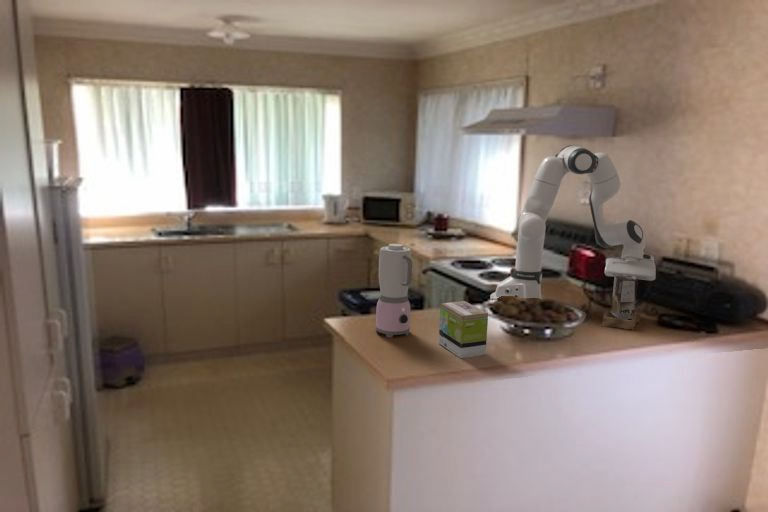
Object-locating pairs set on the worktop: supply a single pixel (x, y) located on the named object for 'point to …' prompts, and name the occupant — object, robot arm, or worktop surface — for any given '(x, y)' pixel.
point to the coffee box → (624, 297)
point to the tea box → (463, 329)
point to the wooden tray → (619, 321)
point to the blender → (394, 290)
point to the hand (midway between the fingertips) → (627, 285)
